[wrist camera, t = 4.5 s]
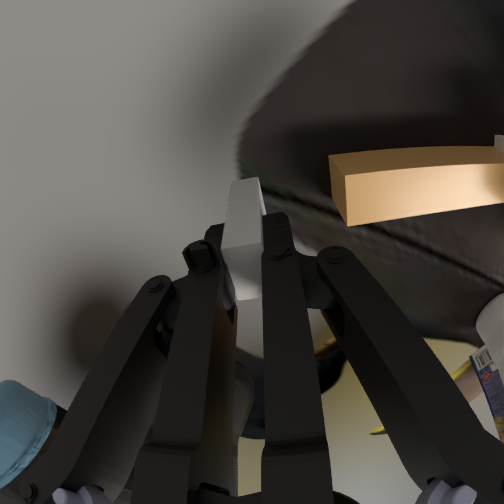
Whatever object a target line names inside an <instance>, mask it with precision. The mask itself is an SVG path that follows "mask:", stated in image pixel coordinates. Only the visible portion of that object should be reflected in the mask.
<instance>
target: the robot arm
mask: <svg viewBox="0 0 504 504" xmlns="http://www.w3.org/2000/svg"><path fill="white" fill-rule="evenodd" d="M182 254H183V256H184V259H185V261H186V263H187V266H188V268H189V271H188V275H187V276H185V277H183V278H180V279H178V280H175V281H171V279H170V278H169V277H168V276H165V275H158V276H155V277H153V278H151V279H149V280H148V281H147V282H146V283H145V284H144V285H143V286H142V288H141V289H140V291H139V292H138V294H137V295H136V297H135V298H134V300H133V301H132V303H131V304H130V306H129V307H128V309H127V310H126V312H125V313H124V315H123V317H122V318H121V320H120V321H119V323H118V324H117V326H116V328H115V329H114V331H113V332H112V334H111V336H110V337H109V339H108V340H107V342H106V344H105V346H104V347H103V349H102V350H101V352H100V354H99V355H98V357H97V359H96V361H95V362H94V364H93V366H92V367H91V369H90V371H89V373H88V375H87V376H86V378H85V380H84V382H83V383H82V385H81V387H80V389H79V391H78V392H77V394H76V396H75V398H74V400H73V402H72V403H71V406H70V407H69V409H68V411H67V410H65V409H63V408H62V407H60V406H58V405H56V403H55V402H53V401H52V400H51V399H50V398H47V397H42V396H40V395H39V394H37V393H35V392H34V391H32V390H30V389H28V388H27V387H25V386H23V385H22V384H21V383H19V382H17V381H14V380H4V381H2V382H0V504H359V503H358V502H357V501H355V500H354V499H352V498H350V497H348V496H346V495H344V494H342V493H339V492H336V491H333V487H332V476H331V467H330V457H329V449H328V443H327V439H326V433H325V425H324V416H323V409H322V401H321V394H320V387H319V380H318V373H317V366H316V360H315V353H314V347H313V341H312V336H311V329H310V323H309V317H308V312H307V308H312V309H320V310H321V313H322V315H323V317H324V318H325V320H326V322H327V324H328V325H329V327H330V329H331V331H332V332H333V334H334V336H335V338H336V339H337V341H338V343H339V345H340V347H341V348H342V350H343V352H344V354H345V355H346V357H347V359H348V361H349V363H350V364H351V366H352V368H353V370H354V372H355V374H356V375H357V377H358V379H359V381H360V383H361V385H362V386H363V388H364V390H365V392H366V394H367V396H368V398H369V399H370V401H371V403H372V405H373V407H374V409H375V411H376V412H377V415H378V416H379V418H380V420H381V422H382V424H383V426H384V428H385V430H386V432H387V434H388V436H389V437H390V440H391V442H392V443H393V445H394V447H395V449H396V451H397V453H398V455H399V457H400V459H401V461H402V463H403V465H404V467H405V469H406V470H407V472H408V474H409V475H410V477H411V478H412V479H413V481H414V482H415V483H416V484H417V486H418V487H419V488H420V489H421V490H422V491H423V492H422V493H421V494H420V495H419V497H418V499H417V501H416V503H415V504H504V443H502V442H501V441H500V440H498V439H497V438H495V437H494V436H493V435H491V434H490V433H489V432H487V431H486V430H485V429H484V428H483V426H482V424H481V423H480V421H479V419H478V418H477V416H476V415H475V413H474V411H473V410H472V408H471V407H470V405H469V403H468V402H467V400H466V399H465V397H464V396H463V394H462V393H461V391H460V390H459V388H458V387H457V385H456V384H455V382H454V381H453V379H452V378H451V376H450V375H449V374H448V372H447V371H446V369H445V368H444V366H443V365H442V364H441V362H440V361H439V359H438V358H437V357H436V355H435V354H434V353H433V351H432V350H431V348H430V347H429V346H428V344H427V343H426V342H425V340H424V339H423V338H422V336H421V335H420V334H419V333H418V331H417V330H416V329H415V327H414V326H413V325H412V323H411V322H410V321H409V320H408V318H407V317H406V316H405V315H404V313H403V312H402V311H401V310H400V308H399V307H398V306H397V305H396V303H395V302H394V301H393V300H392V299H391V297H390V296H389V295H388V294H387V292H386V291H385V290H384V289H383V288H382V286H381V285H380V284H379V283H378V282H377V281H376V279H375V278H374V277H373V276H372V275H371V274H370V272H369V271H368V270H367V269H366V268H365V267H364V266H363V264H362V263H361V262H360V261H359V260H358V259H357V258H356V256H355V255H354V254H353V253H352V252H351V251H350V250H348V249H347V248H345V247H341V246H330V247H326V248H324V249H322V250H321V251H320V252H319V253H318V254H317V256H307V255H303V254H301V253H299V252H298V251H297V250H296V249H295V247H294V242H293V237H292V233H291V228H290V224H289V219H288V216H287V215H286V214H285V213H283V212H278V213H273V214H267V215H266V211H265V207H264V202H263V197H262V193H261V188H260V183H259V179H258V177H254V178H249V179H244V180H239V181H234V182H232V185H231V191H230V197H229V202H228V208H227V214H226V220H225V223H222V224H217V225H212V226H210V228H209V229H208V230H207V231H206V233H205V237H204V240H198V241H195V242H193V243H191V244H189V245H188V246H187V247H186V248H185V249H184V250H183V252H182ZM235 293H236V296H237V299H238V300H247V299H254V298H261V297H262V308H263V346H264V391H265V446H264V448H263V451H262V458H261V492H257V493H253V494H249V495H244V496H239V497H238V490H237V489H238V486H237V485H238V483H237V482H238V480H237V477H238V470H237V469H238V468H237V466H238V465H237V464H238V461H237V460H238V459H237V457H238V454H237V453H238V441H239V437H240V435H241V432H242V430H243V427H244V425H245V422H246V420H247V417H248V414H249V412H250V409H251V407H252V404H253V401H254V379H253V377H252V375H251V374H250V372H249V371H248V370H247V369H246V368H244V367H243V366H242V365H240V364H238V363H237V362H235V358H236V334H237V314H238V310H237V306H236V303H235ZM159 323H160V325H161V326H160V328H159V329H158V330H156V328H157V326H158V324H159Z"/></svg>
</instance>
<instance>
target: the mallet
mask: <svg viewBox="0 0 504 504" xmlns="http://www.w3.org/2000/svg"><path fill="white" fill-rule="evenodd" d="M328 158H329V168H330V178H331V190H332V199H333V201H334V203H335V205H336V207H337V208H338V210H339V212H340V214H341V216H342V217H343V219H344V221H345V223H346V225H347V226H354V225H360V224H366V223H372V222H379V221H385V220H391V219H398V218H404V217H410V216H417V215H423V214H430V213H436V212H443V211H450V210H456V209H463V208H470V207H477V206H483V205H490V204H497V203H503V204H504V135H495V140H494V146H436V147H413V148H397V149H384V150H372V151H362V152H352V153H343V154H335V155H328Z"/></svg>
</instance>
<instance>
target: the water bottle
mask: <svg viewBox="0 0 504 504" xmlns="http://www.w3.org/2000/svg"><path fill="white" fill-rule="evenodd" d="M476 329H477V331H478V333H479V335H480V337H481V339H482V340H483V342H484V343H485V344H486V346H487V348H488V351H489V354H490V356H491V359H492V361H493V362H494V364H495V365H496V366H497V367H498V370H499V373H500V376H501V379H502V382H503V385H504V293H501V294H499V295H497V296H496V297H495V298H493V299H492V300H491V301H490V302H489V303H488V304H487V305H486V306H485V307H484V308H483V310H482V311H481V312H480V314H479V316H478V318H477V321H476Z"/></svg>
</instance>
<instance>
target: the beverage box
mask: <svg viewBox="0 0 504 504" xmlns="http://www.w3.org/2000/svg"><path fill="white" fill-rule="evenodd" d="M469 358H470V360H471V362H472V365H473V367H474V369H475V371H476V374H477V376H478V379H479V381H480V383H481V386H482V388H483V391H484V393H485V396H486V399H487V402H488V404H489V407H490V410H491V413H492V416H493V418H494V422H495V425H496V428H497V431H498V435H499V438H500V441H501V442H502V443H504V385H503V382H502V379H501V376H500V373H499V370H498V367H497V366H496V365H495V364H494V362H493V361H492V359H491V356H490V354H489V351H488V348H487V346H486V344H485V345H484V346H482V347H481V348H480V349H479V350H477V351H476V352H475V353H473V354H472V355H471V356H469Z"/></svg>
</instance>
